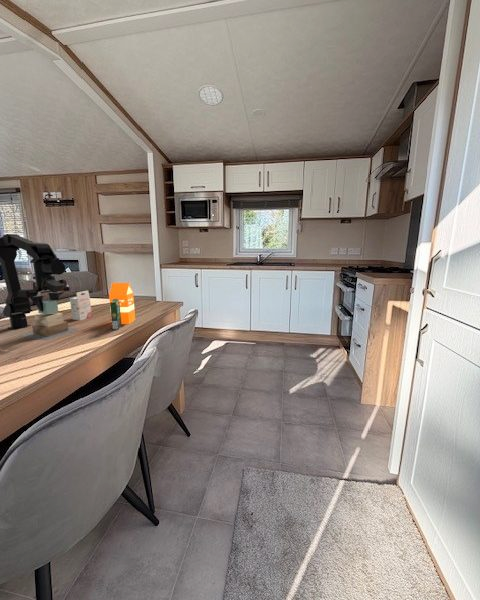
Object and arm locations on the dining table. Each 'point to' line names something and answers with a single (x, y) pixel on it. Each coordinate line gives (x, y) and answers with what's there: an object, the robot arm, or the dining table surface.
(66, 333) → the slate mat
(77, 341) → the dining table surface
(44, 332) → the walnut slab
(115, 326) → the coffee box
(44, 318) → the birch block
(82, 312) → the ink cartridge box
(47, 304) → the sage cube
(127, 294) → the orange juice
